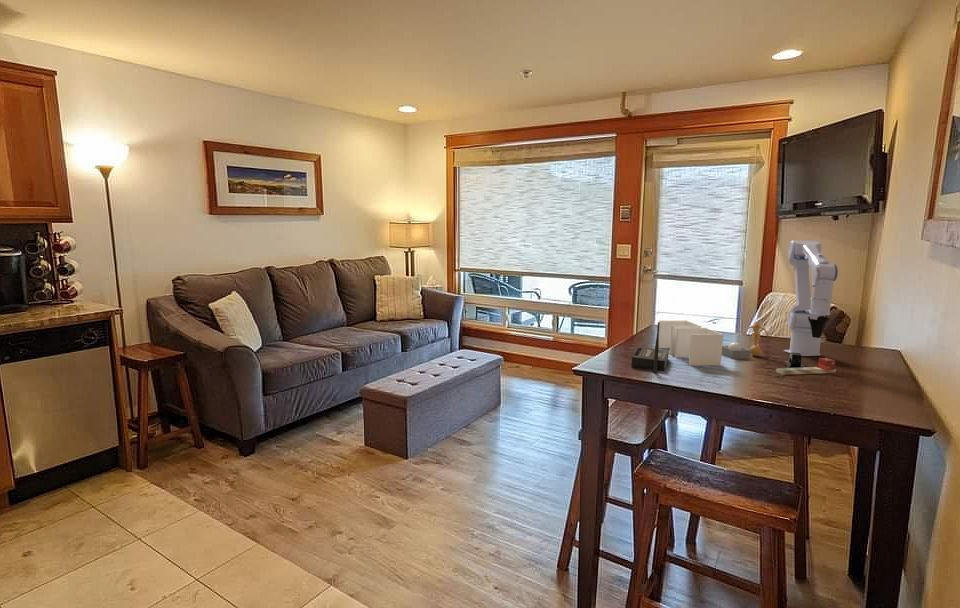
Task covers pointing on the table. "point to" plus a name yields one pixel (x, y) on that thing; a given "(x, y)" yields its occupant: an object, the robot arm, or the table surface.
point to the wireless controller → (651, 357)
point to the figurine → (756, 349)
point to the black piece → (794, 361)
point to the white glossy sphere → (735, 346)
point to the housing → (735, 352)
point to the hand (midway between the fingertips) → (816, 337)
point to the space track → (811, 368)
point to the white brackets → (691, 342)
